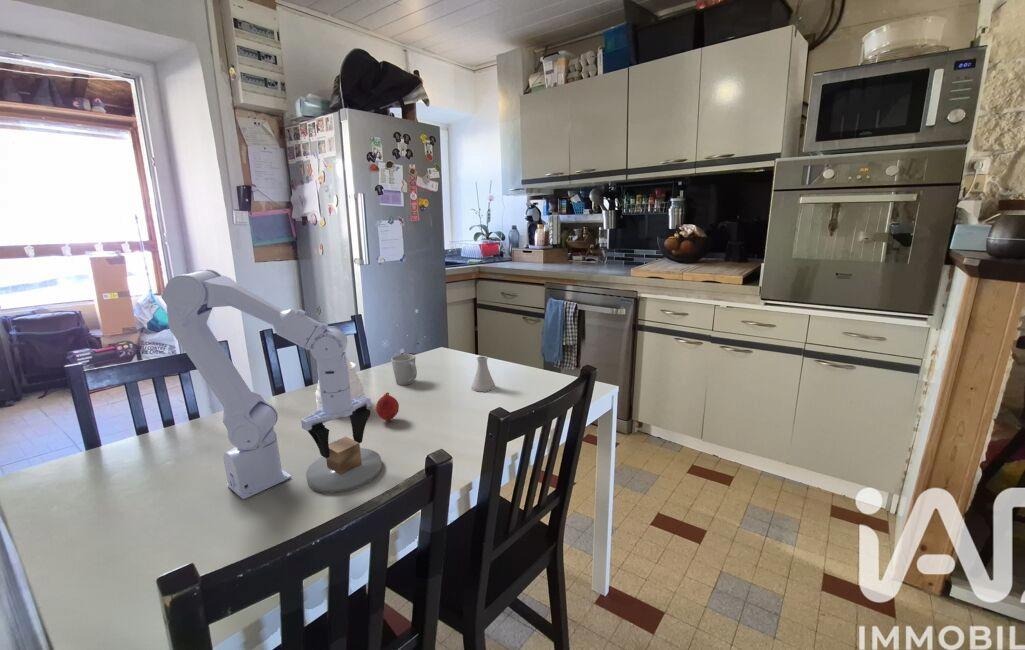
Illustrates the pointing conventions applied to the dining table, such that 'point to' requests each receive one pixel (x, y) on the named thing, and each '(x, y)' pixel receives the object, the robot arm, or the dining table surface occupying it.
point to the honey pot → (354, 381)
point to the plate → (334, 482)
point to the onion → (387, 407)
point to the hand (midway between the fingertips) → (342, 448)
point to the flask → (482, 376)
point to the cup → (404, 368)
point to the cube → (344, 455)
